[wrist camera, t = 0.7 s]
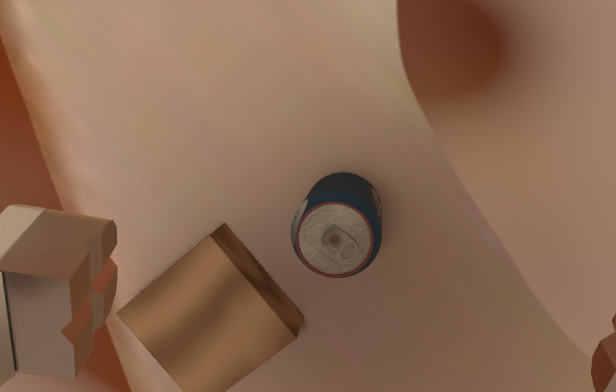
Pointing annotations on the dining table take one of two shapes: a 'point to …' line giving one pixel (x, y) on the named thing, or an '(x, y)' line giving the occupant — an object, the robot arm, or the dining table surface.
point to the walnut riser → (213, 315)
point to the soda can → (338, 226)
